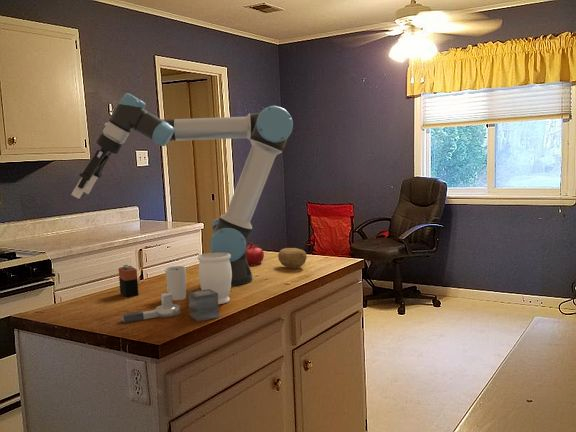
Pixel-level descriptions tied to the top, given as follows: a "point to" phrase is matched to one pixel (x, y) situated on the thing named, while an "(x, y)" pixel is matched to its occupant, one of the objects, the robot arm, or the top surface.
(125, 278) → the battery
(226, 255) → the jar
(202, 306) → the grey rounded cube
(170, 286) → the white pillar candle
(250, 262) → the pomegranate
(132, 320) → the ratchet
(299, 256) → the potato
